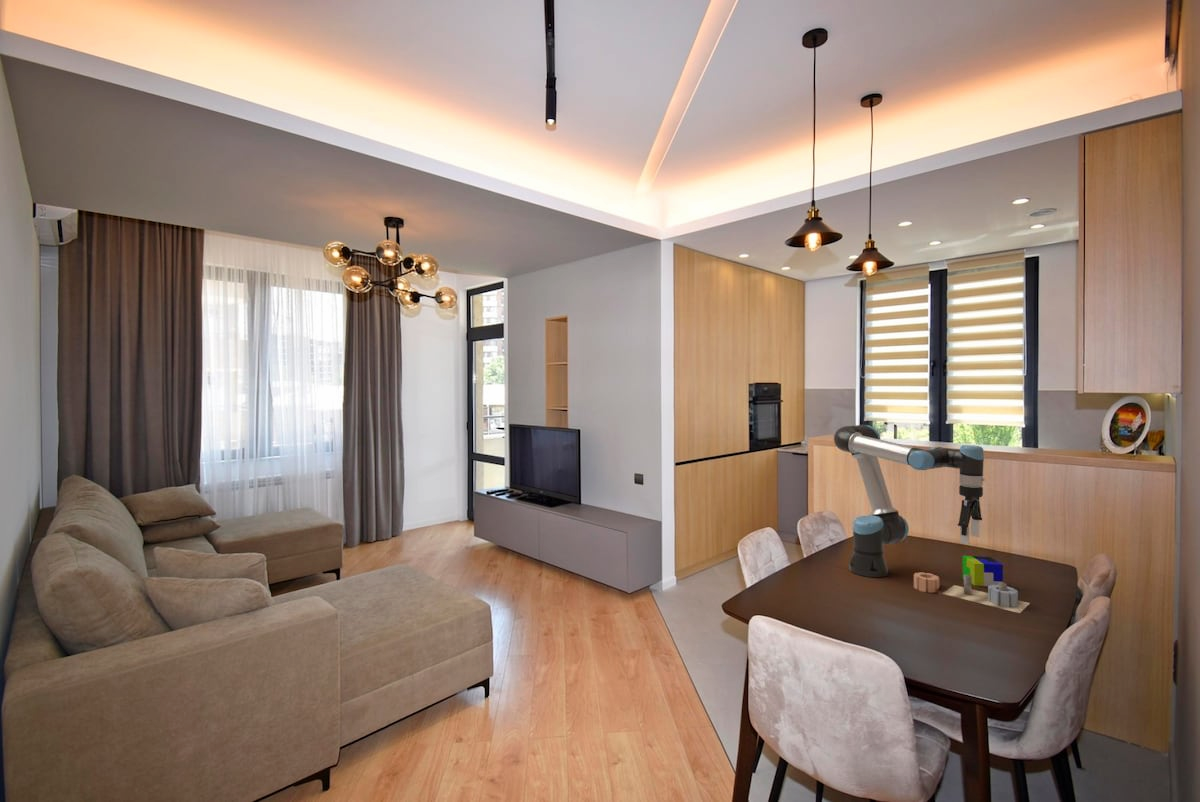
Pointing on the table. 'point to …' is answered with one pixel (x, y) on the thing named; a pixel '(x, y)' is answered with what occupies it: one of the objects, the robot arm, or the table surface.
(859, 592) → the table surface
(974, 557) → the puzzle toy
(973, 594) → the gear board
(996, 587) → the gear
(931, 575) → the loose gear
